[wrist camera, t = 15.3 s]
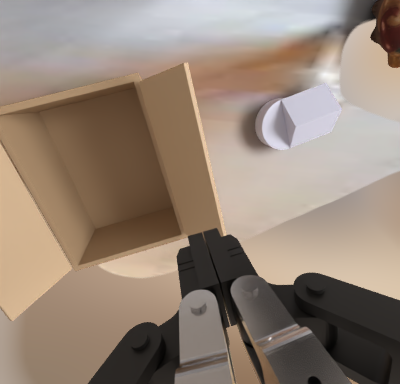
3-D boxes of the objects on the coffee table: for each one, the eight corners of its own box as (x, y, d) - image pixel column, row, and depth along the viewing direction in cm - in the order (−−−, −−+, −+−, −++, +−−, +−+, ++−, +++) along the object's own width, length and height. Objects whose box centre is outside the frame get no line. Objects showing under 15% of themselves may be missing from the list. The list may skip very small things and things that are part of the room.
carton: (33, 108, 38) (-18, 111, 27) (143, 80, 39) (138, 72, 28) (93, 231, 47) (74, 271, 36) (180, 206, 49) (187, 237, 37)
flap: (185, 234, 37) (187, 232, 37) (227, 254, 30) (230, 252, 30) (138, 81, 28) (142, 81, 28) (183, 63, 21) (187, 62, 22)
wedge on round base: (314, 83, 44) (250, 108, 44) (339, 81, 38) (265, 109, 38) (319, 130, 48) (260, 152, 47) (344, 134, 42) (276, 160, 41)
